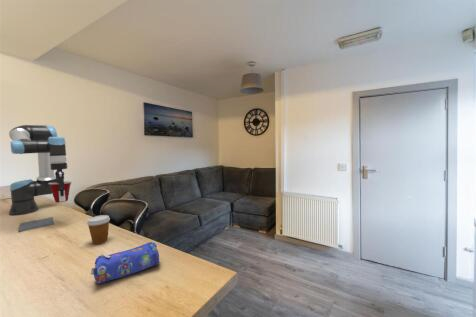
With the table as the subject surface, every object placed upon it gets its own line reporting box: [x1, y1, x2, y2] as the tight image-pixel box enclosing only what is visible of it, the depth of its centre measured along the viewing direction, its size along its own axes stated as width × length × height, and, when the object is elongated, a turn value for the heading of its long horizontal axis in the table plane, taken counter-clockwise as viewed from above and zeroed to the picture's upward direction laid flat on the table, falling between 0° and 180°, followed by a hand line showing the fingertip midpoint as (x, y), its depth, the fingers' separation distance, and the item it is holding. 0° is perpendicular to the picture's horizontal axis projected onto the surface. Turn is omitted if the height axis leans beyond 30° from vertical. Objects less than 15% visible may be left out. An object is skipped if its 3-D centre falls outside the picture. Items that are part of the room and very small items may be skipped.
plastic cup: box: [48, 180, 72, 204], centre depth 126 cm, size 11×11×12 cm
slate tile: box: [18, 216, 55, 233], centre depth 128 cm, size 15×15×1 cm
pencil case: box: [90, 241, 160, 285], centre depth 77 cm, size 22×9×10 cm, turn 123°
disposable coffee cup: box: [86, 214, 111, 245], centre depth 103 cm, size 10×10×12 cm
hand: (61, 199), depth 126 cm, fingers closed on plastic cup, 9 cm apart
